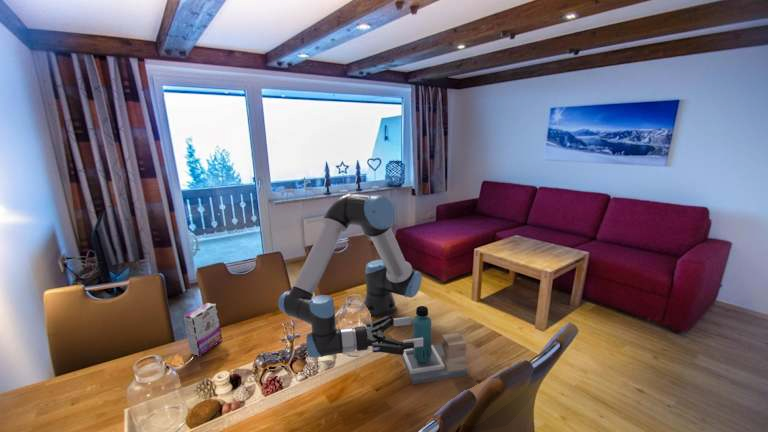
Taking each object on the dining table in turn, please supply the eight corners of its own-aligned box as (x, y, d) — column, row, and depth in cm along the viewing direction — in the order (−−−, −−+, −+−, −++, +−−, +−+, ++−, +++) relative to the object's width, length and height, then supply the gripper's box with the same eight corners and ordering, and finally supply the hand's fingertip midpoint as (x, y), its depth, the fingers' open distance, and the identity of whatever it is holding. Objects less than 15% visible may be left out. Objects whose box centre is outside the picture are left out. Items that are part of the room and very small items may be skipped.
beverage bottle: (422, 368, 112) (422, 315, 108) (408, 359, 117) (408, 307, 113) (435, 360, 116) (436, 308, 112) (421, 351, 121) (422, 301, 117)
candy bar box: (213, 338, 136) (207, 302, 132) (222, 340, 134) (217, 303, 131) (189, 355, 125) (182, 315, 122) (199, 357, 124) (192, 317, 120)
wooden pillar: (441, 360, 116) (442, 335, 114) (458, 358, 117) (458, 332, 115) (448, 372, 110) (448, 345, 108) (465, 369, 111) (466, 342, 109)
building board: (401, 354, 122) (400, 348, 122) (449, 346, 126) (449, 340, 125) (413, 384, 107) (413, 377, 107) (467, 375, 111) (468, 368, 110)
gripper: (351, 329, 122) (407, 321, 126) (360, 374, 98) (428, 363, 102) (350, 310, 120) (406, 303, 124) (359, 351, 96) (428, 341, 100)
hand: (416, 330), depth 113 cm, fingers open, 13 cm apart
